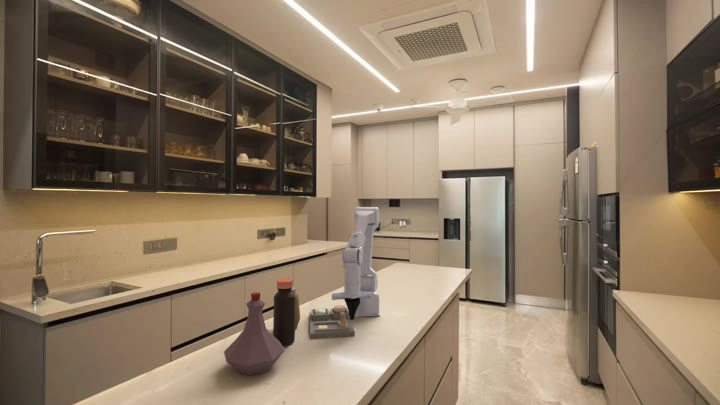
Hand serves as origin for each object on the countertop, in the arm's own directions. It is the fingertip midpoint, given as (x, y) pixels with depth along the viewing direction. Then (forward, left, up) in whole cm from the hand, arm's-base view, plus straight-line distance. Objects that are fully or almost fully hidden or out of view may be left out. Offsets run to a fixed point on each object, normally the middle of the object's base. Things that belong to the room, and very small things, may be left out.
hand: (351, 319), depth 116 cm
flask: (+30, +22, -4) cm, 38 cm away
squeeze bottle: (+22, -5, -4) cm, 23 cm away
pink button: (+3, -11, -1) cm, 11 cm away
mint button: (+11, -11, -2) cm, 16 cm away
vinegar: (+23, +7, -4) cm, 25 cm away
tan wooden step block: (+3, 0, -2) cm, 4 cm away
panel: (+7, -6, -4) cm, 10 cm away
